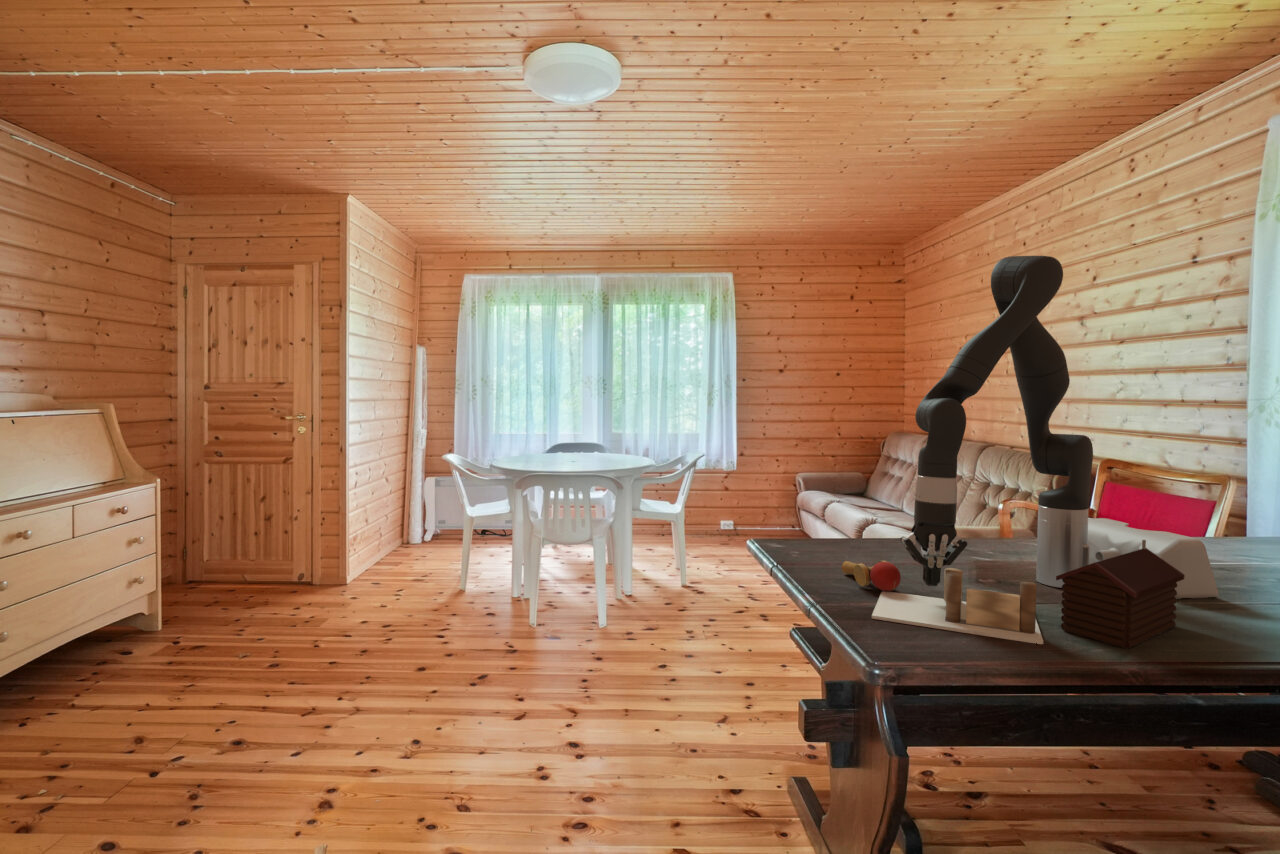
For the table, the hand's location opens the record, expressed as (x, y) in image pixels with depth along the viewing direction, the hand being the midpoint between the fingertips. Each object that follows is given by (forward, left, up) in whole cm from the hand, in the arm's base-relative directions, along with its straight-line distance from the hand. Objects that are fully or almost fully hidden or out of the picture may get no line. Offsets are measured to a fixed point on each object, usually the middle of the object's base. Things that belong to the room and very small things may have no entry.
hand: (931, 585), depth 124 cm
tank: (-39, -37, -4) cm, 54 cm away
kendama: (+13, -8, -4) cm, 16 cm away
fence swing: (-4, +3, -3) cm, 6 cm away
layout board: (-4, +6, -4) cm, 8 cm away
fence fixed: (-10, +10, -4) cm, 15 cm away
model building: (-30, -1, -4) cm, 31 cm away
